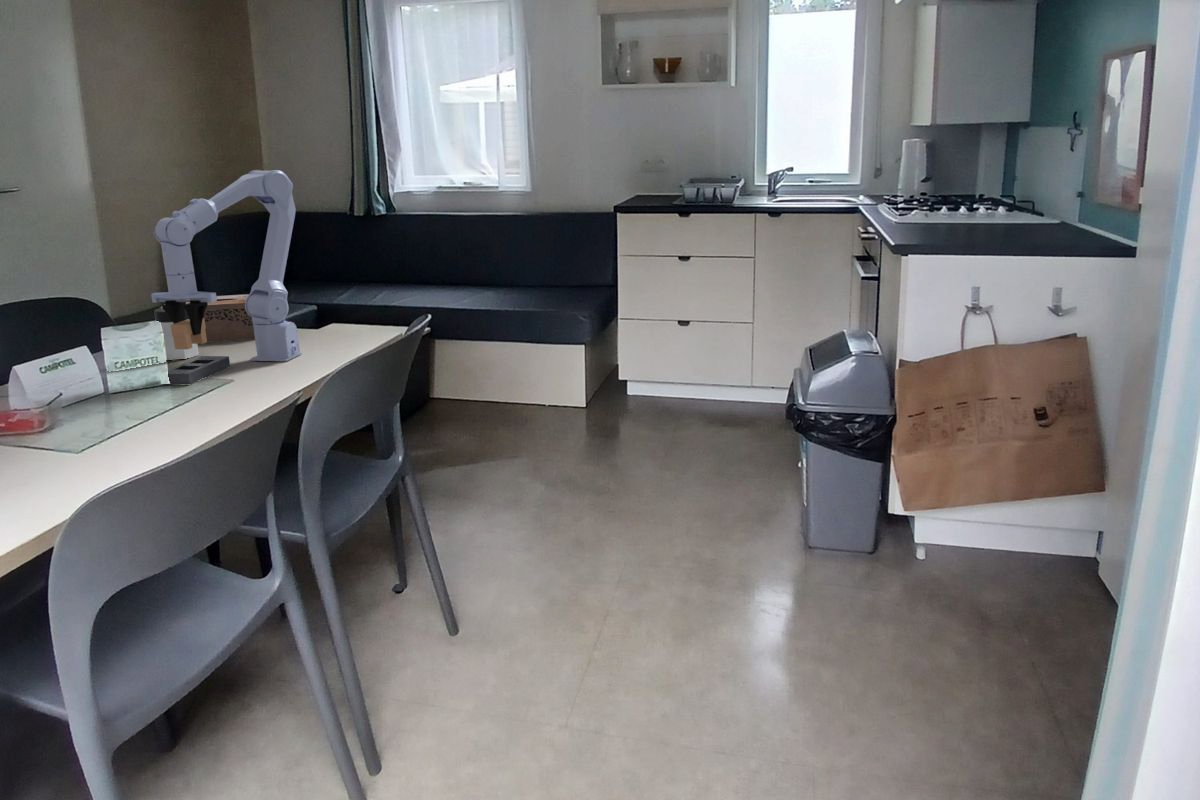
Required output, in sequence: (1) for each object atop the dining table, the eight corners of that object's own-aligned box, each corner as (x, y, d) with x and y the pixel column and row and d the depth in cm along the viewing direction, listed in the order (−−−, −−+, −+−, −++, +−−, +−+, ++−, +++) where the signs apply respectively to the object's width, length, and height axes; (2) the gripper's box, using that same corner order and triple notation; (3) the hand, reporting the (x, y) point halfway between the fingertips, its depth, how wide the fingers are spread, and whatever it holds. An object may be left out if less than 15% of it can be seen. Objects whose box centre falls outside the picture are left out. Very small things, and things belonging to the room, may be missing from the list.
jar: (202, 356, 224) (195, 308, 220) (167, 362, 219) (159, 313, 215) (191, 351, 230) (184, 304, 227) (157, 356, 226) (149, 308, 222)
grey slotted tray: (203, 366, 214) (201, 356, 213) (230, 366, 213) (228, 356, 212) (160, 384, 199) (158, 373, 198) (189, 385, 198) (188, 373, 197)
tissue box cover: (275, 328, 257) (271, 292, 254) (268, 338, 244) (263, 301, 241) (178, 334, 252) (172, 298, 249) (165, 345, 239) (159, 308, 236)
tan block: (195, 341, 208) (192, 317, 207) (207, 341, 208) (204, 318, 206) (174, 349, 201) (170, 325, 199) (186, 349, 200) (182, 325, 199)
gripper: (138, 276, 197) (149, 337, 201) (199, 276, 195) (209, 338, 199) (159, 271, 204) (168, 331, 208) (218, 271, 201) (227, 331, 205)
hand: (189, 334), depth 204 cm, fingers closed on tan block, 3 cm apart
